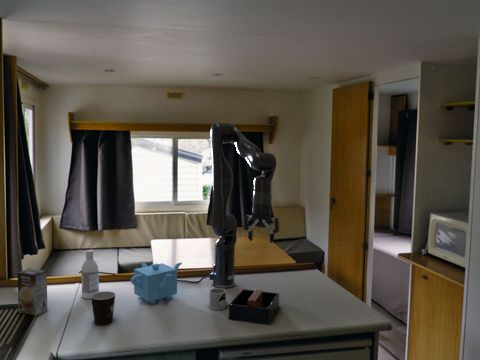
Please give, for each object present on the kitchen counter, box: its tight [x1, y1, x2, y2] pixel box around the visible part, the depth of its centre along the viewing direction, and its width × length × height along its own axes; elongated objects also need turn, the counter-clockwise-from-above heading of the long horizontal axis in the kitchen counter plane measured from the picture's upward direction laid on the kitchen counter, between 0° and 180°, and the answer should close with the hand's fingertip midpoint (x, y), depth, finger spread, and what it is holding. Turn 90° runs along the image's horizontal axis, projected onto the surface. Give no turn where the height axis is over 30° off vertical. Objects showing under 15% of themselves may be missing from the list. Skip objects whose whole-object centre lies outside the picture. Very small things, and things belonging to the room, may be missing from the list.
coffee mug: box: [90, 290, 116, 326], centre depth 161 cm, size 12×9×10 cm
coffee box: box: [16, 267, 49, 316], centre depth 168 cm, size 9×6×16 cm
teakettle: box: [130, 261, 183, 305], centre depth 184 cm, size 19×19×15 cm
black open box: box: [228, 288, 280, 325], centre depth 169 cm, size 16×18×6 cm
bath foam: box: [80, 249, 100, 300], centre depth 185 cm, size 7×7×20 cm
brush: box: [248, 289, 265, 308], centre depth 169 cm, size 5×12×6 cm, turn 163°
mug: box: [208, 287, 227, 311], centre depth 177 cm, size 10×7×7 cm
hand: (261, 241), depth 176 cm, fingers open, 8 cm apart
